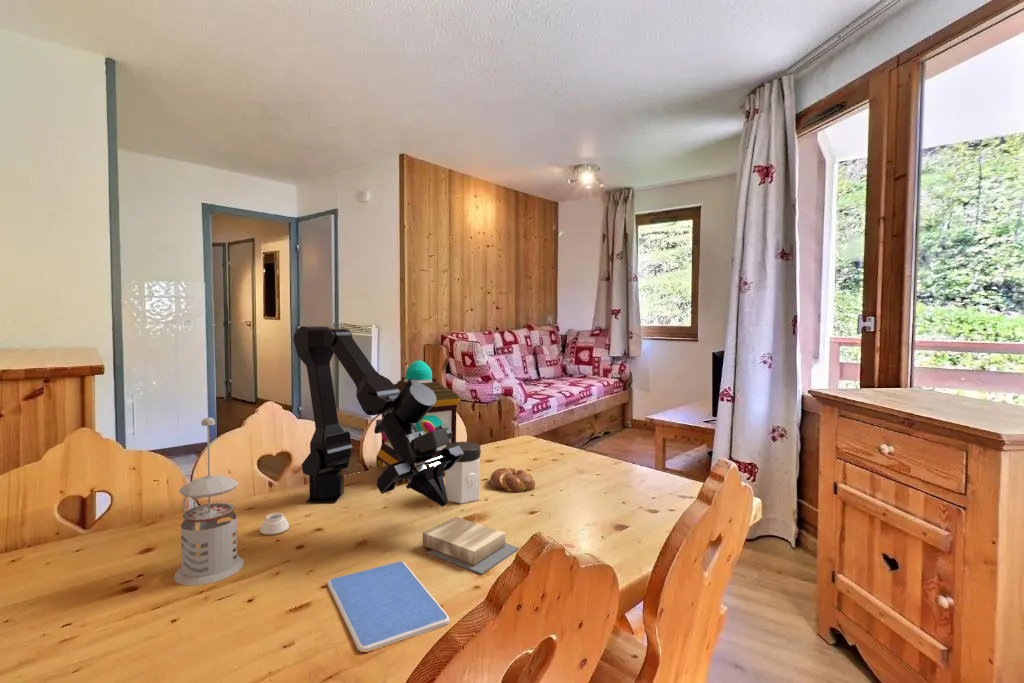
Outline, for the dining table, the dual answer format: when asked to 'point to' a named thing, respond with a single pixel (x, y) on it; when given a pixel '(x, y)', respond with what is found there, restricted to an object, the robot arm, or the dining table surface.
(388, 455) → the decorative lantern
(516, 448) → the dining table surface
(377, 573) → the tablet computer
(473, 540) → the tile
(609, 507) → the dining table surface
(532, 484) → the pretzel
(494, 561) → the mat
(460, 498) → the jar
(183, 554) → the french press
